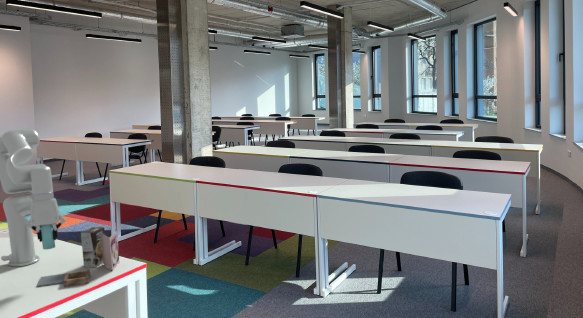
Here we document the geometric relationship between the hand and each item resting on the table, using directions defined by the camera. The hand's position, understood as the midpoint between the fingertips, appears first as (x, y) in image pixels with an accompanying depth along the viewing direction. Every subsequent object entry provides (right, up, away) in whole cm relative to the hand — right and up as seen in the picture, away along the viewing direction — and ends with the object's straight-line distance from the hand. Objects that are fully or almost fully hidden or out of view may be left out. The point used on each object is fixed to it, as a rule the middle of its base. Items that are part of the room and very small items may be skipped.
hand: (48, 239), depth 196 cm
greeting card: (+19, -15, +16) cm, 29 cm away
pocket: (+12, -17, +1) cm, 21 cm away
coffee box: (+11, -15, +21) cm, 28 cm away
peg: (0, -3, 0) cm, 3 cm away
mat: (+1, -17, +3) cm, 18 cm away
